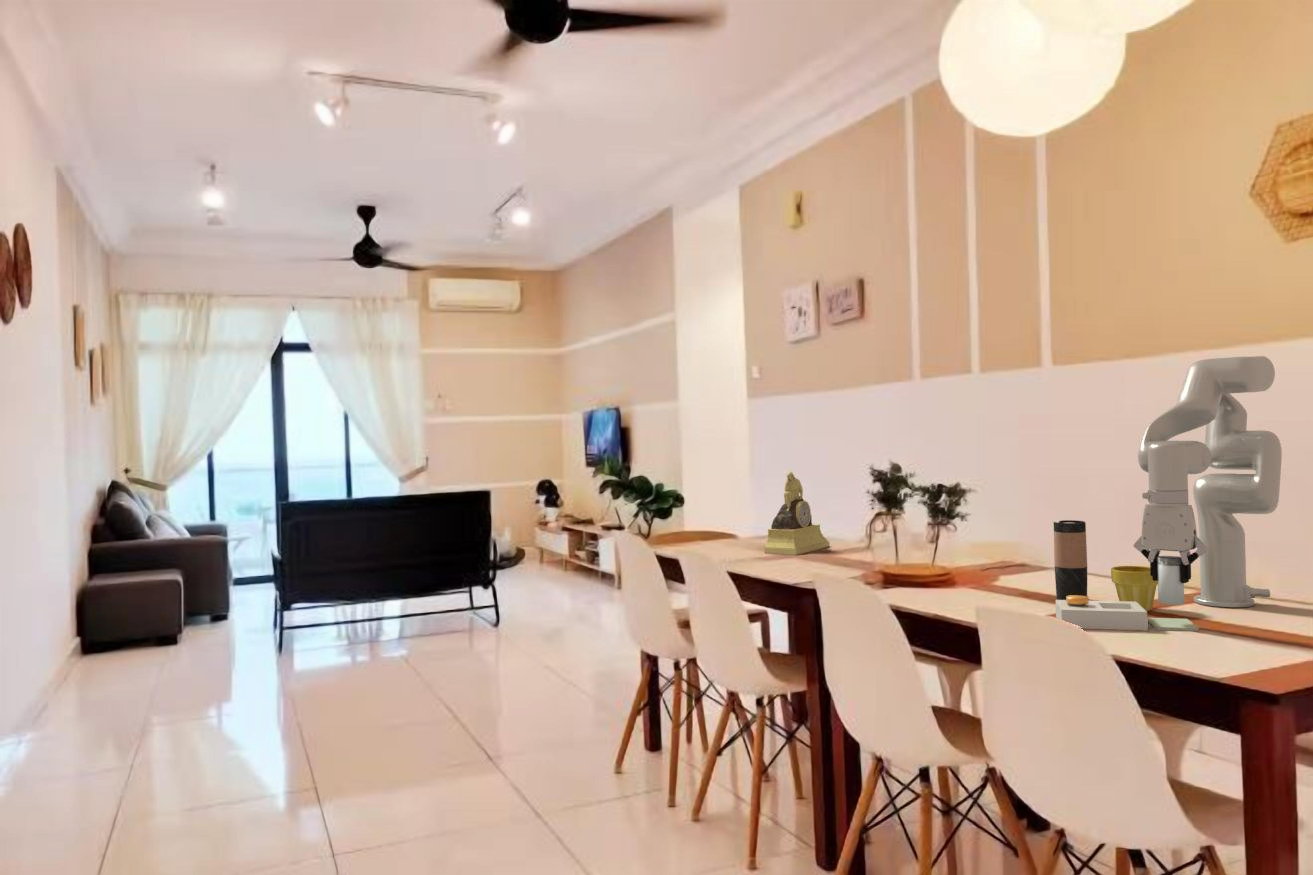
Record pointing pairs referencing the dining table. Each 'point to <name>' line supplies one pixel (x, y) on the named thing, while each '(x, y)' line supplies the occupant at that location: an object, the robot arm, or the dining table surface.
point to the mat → (1173, 624)
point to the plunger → (1077, 600)
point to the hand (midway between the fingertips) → (1170, 580)
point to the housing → (1104, 615)
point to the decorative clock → (794, 524)
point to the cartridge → (1170, 580)
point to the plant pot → (1135, 585)
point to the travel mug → (1070, 558)
